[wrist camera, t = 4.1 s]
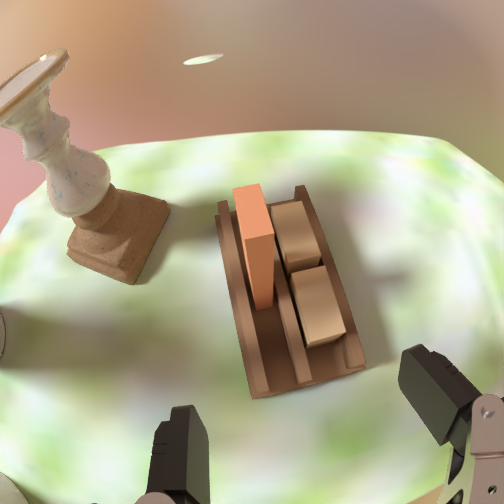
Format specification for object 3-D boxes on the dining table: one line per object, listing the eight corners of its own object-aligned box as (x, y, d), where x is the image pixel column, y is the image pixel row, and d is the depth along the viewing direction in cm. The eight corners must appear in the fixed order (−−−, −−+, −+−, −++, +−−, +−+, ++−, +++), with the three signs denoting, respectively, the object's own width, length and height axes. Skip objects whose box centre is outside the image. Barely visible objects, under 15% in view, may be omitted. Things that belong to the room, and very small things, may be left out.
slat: (272, 307, 28) (274, 233, 15) (256, 310, 28) (244, 239, 15) (264, 274, 29) (259, 183, 17) (248, 277, 29) (232, 188, 17)
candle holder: (109, 194, 38) (28, 57, 16) (172, 208, 36) (98, 33, 14) (72, 261, 33) (-49, 138, 12) (134, 286, 31) (-11, 132, 10)
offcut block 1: (314, 274, 29) (321, 255, 25) (285, 281, 29) (288, 262, 25) (297, 225, 32) (301, 200, 28) (271, 230, 32) (271, 206, 28)
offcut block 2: (334, 340, 26) (346, 331, 22) (304, 349, 26) (310, 341, 22) (317, 283, 29) (324, 265, 25) (288, 290, 28) (291, 273, 24)
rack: (361, 369, 26) (376, 365, 22) (252, 398, 25) (249, 400, 21) (306, 204, 35) (310, 180, 31) (216, 222, 34) (210, 199, 30)
